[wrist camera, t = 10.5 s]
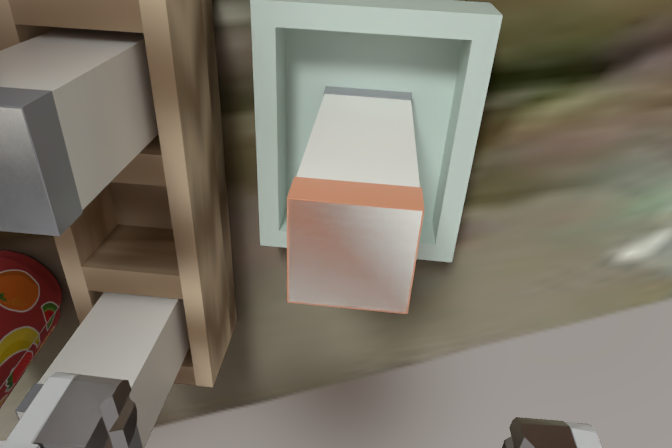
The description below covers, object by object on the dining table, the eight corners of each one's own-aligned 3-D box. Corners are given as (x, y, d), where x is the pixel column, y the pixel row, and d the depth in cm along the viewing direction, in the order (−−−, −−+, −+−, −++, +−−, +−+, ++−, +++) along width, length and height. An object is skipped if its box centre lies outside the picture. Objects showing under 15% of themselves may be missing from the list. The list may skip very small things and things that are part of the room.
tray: (265, -12, 23) (250, -1, 21) (490, 2, 23) (502, 15, 20) (271, 215, 30) (260, 245, 27) (446, 230, 29) (451, 262, 27)
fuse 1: (82, 17, 23) (-126, 95, 14) (171, 23, 23) (22, 107, 14) (100, 105, 25) (-68, 224, 16) (182, 112, 25) (59, 236, 16)
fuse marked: (325, 85, 25) (287, 197, 15) (411, 92, 24) (424, 210, 15) (322, 163, 27) (287, 302, 18) (401, 170, 27) (407, 314, 17)
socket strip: (58, -37, 23) (-24, -21, 19) (210, -28, 23) (164, -9, 18) (134, 311, 35) (95, 375, 30) (237, 321, 34) (212, 387, 30)
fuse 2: (130, 253, 30) (15, 410, 21) (199, 259, 30) (113, 421, 21) (141, 306, 32) (41, 470, 23) (206, 312, 32) (130, 480, 23)
